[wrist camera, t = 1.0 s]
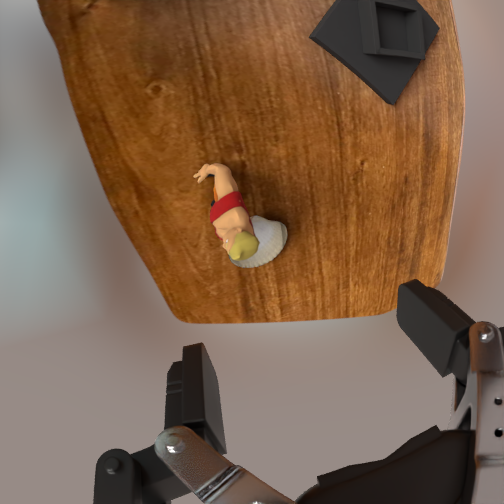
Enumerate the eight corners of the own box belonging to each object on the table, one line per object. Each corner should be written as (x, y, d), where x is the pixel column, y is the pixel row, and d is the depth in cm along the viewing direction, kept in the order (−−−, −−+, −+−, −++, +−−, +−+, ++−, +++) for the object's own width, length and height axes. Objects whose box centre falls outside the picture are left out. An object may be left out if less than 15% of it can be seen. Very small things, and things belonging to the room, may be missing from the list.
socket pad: (308, 37, 28) (324, 34, 24) (367, -40, 22) (385, -46, 18) (386, 103, 34) (405, 108, 31) (432, 28, 28) (452, 29, 25)
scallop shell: (241, 259, 44) (293, 240, 42) (243, 276, 42) (298, 257, 40) (213, 223, 38) (272, 199, 36) (214, 241, 36) (276, 216, 34)
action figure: (186, 155, 32) (199, 213, 20) (216, 143, 32) (249, 193, 20) (214, 223, 38) (241, 305, 26) (241, 212, 38) (280, 289, 26)
